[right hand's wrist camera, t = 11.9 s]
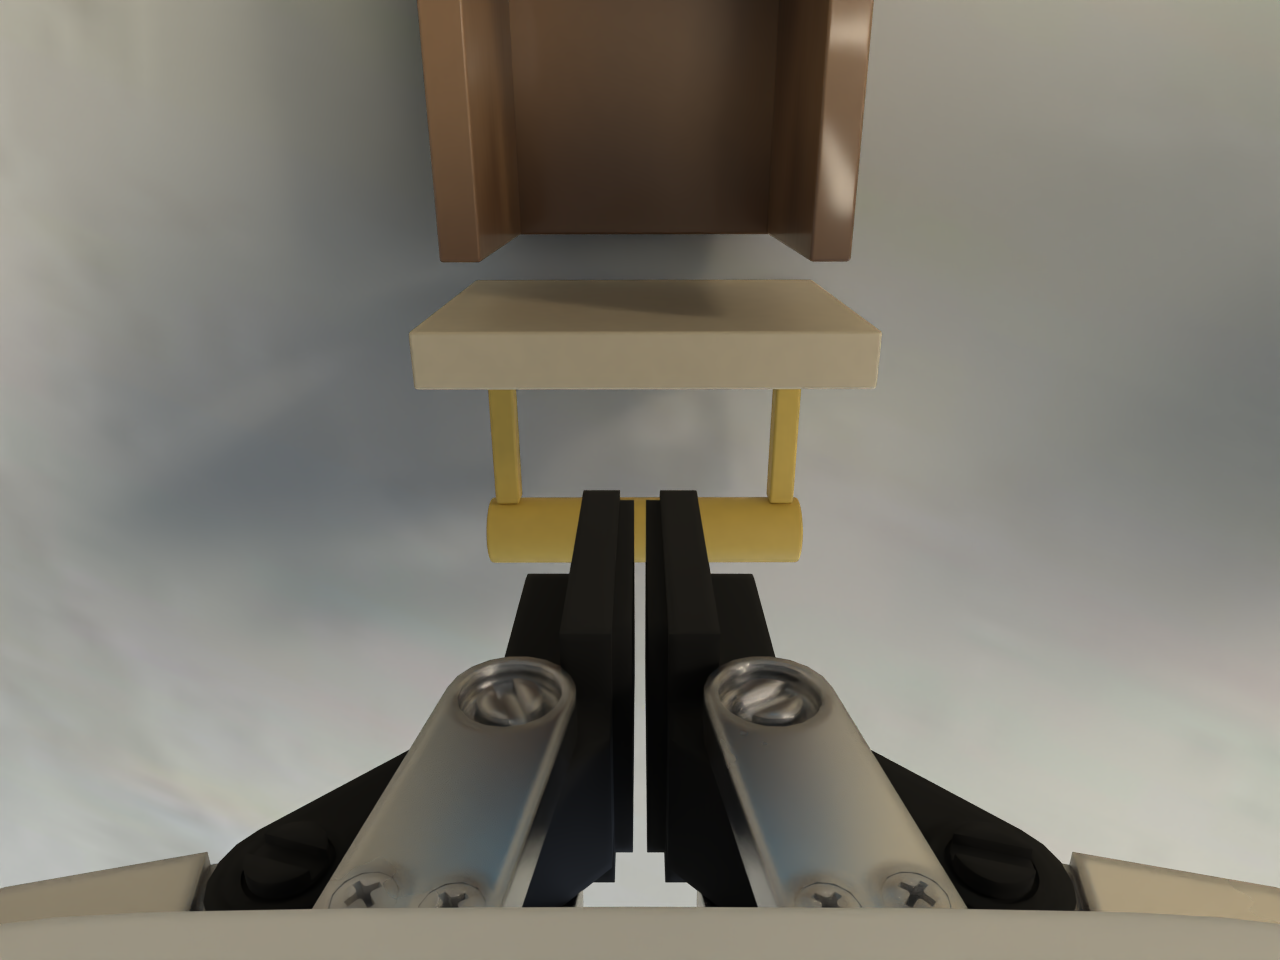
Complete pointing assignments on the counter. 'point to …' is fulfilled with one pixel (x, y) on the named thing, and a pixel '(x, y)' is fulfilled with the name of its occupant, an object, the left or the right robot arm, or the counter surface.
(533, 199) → the drawer
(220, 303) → the counter surface
